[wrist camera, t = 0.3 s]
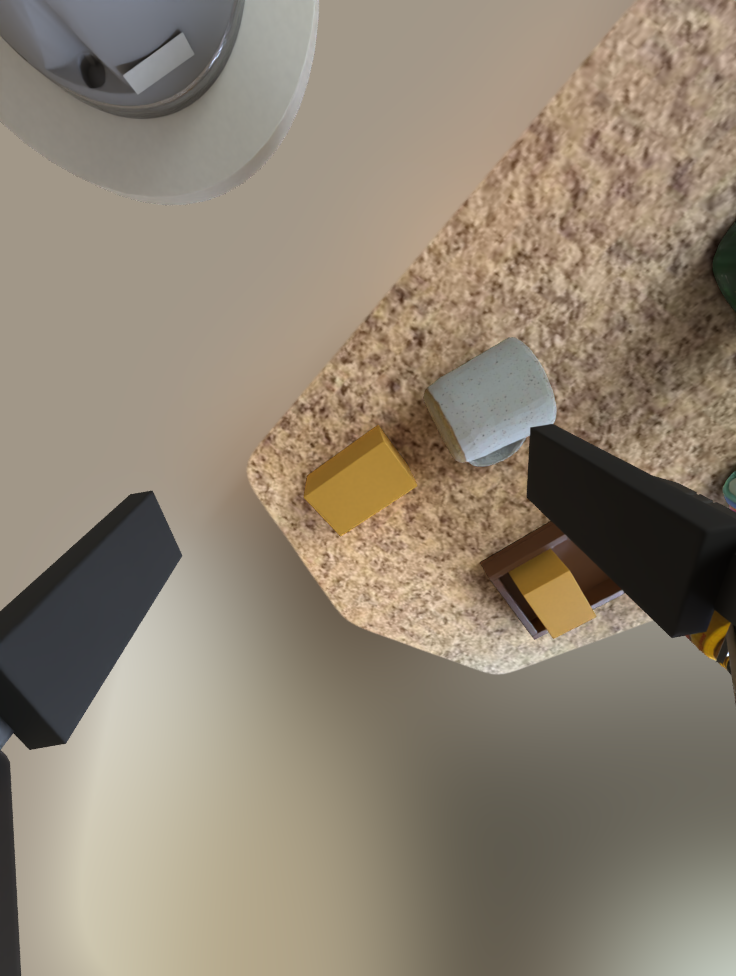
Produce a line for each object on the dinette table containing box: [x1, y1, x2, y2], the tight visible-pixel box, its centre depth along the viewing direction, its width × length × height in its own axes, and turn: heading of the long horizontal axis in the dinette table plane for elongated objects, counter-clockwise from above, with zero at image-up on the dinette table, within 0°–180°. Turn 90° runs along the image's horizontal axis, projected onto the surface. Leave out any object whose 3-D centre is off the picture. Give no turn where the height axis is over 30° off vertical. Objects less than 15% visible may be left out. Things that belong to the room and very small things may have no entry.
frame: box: [480, 521, 625, 640], centre depth 42 cm, size 13×16×3 cm
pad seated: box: [508, 548, 596, 639], centre depth 41 cm, size 8×5×4 cm, turn 36°
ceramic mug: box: [423, 337, 556, 467], centre depth 30 cm, size 11×8×8 cm
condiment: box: [685, 610, 731, 674], centre depth 40 cm, size 7×8×12 cm
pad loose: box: [304, 425, 417, 536], centre depth 33 cm, size 8×5×4 cm, turn 126°
